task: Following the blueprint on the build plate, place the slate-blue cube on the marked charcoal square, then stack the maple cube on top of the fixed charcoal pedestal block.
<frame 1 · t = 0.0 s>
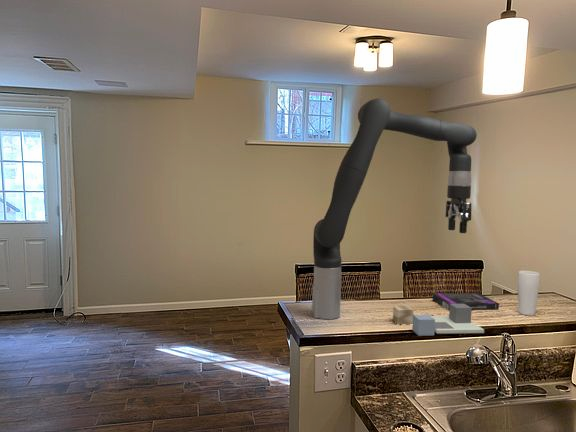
hand: (457, 231, 154), 29 cm above the counter, fingers open, 8 cm apart
drinking glass: (526, 314, 159), on the counter
build plate: (450, 325, 144), on the counter
maple block: (402, 322, 147), on the counter
slate block: (423, 332, 137), on the counter
box: (464, 306, 169), on the counter
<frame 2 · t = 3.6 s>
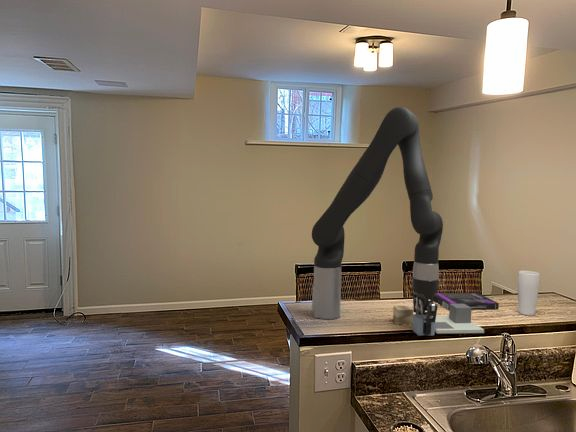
hand: (423, 331, 137), 0 cm above the counter, fingers closed on slate block, 5 cm apart
slate block: (423, 332, 137), on the counter, touching gripper
everything else where it was.
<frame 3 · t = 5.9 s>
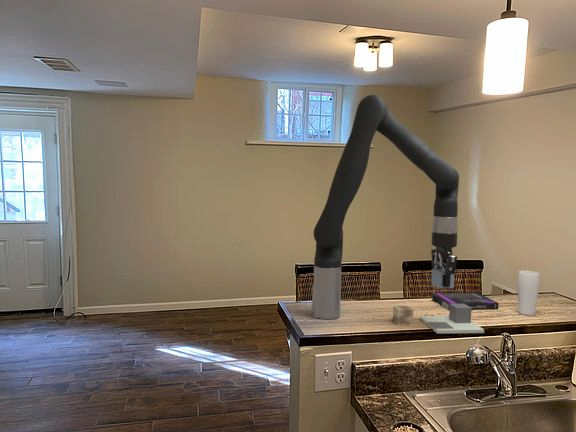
hand: (442, 284, 140), 14 cm above the counter, fingers closed on slate block, 5 cm apart
slate block: (442, 286, 140), point 14 cm above the counter, touching gripper
everything else where it was.
when the fingers open (3 cm above the counter, at t = 8.3 s): slate block stays where it is, resting on build plate.
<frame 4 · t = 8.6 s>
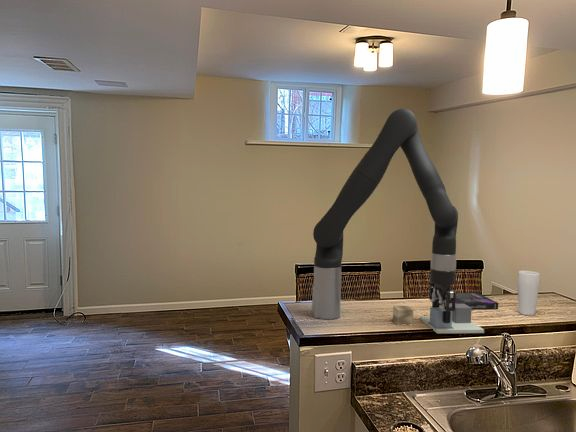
hand: (440, 318, 141), 3 cm above the counter, fingers open, 7 cm apart
slate block: (440, 325, 141), point 1 cm above the counter, touching build plate
everything else where it was.
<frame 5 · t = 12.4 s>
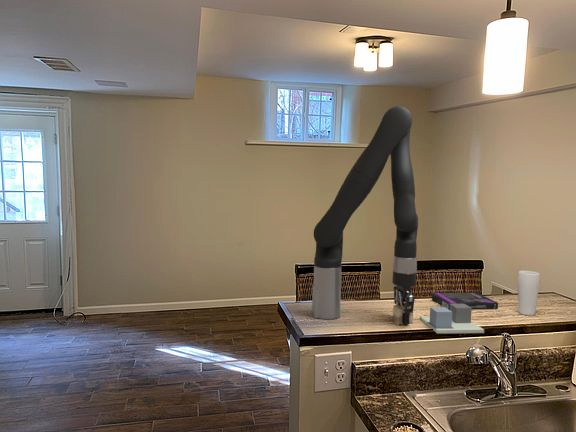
hand: (402, 321, 147), 0 cm above the counter, fingers closed on maple block, 5 cm apart
maple block: (402, 322, 147), on the counter, touching gripper
everything else where it was.
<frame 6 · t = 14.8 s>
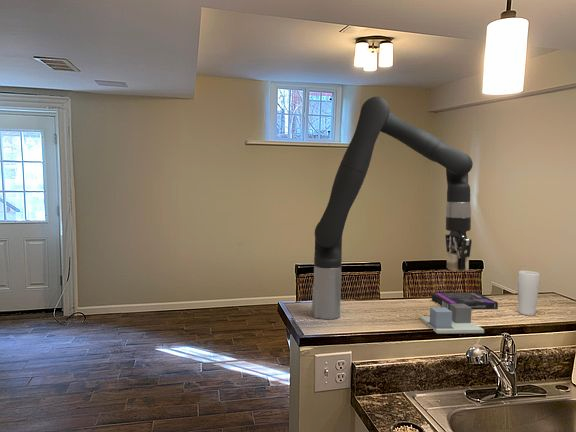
hand: (457, 267, 145), 19 cm above the counter, fingers closed on maple block, 5 cm apart
maple block: (457, 269, 145), point 18 cm above the counter, touching gripper
everything else where it was.
when the fingers open (8 cm above the counter, at t = 17.3 s): maple block drops 1 cm, resting on build plate.
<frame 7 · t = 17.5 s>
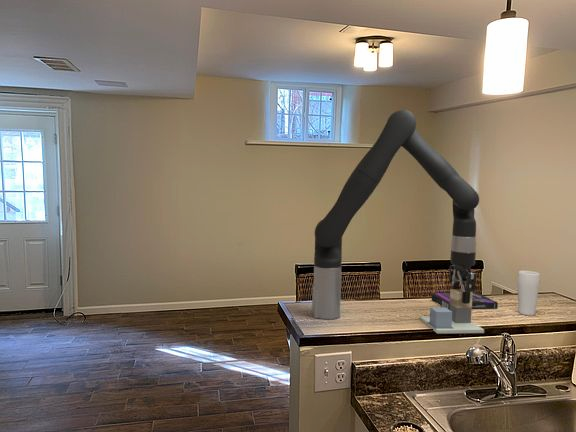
hand: (460, 300, 146), 8 cm above the counter, fingers open, 6 cm apart
maple block: (460, 305, 146), point 6 cm above the counter, touching build plate
everything else where it was.
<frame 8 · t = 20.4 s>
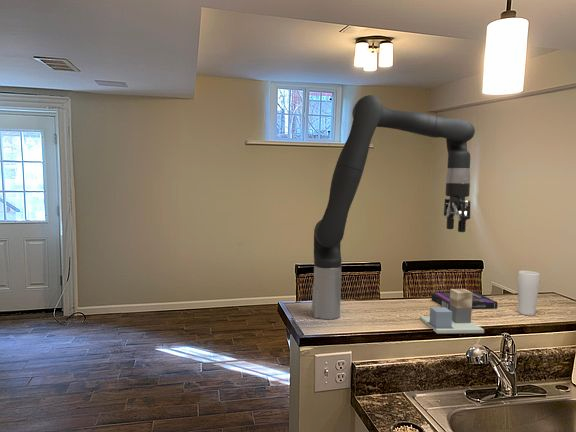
hand: (455, 230, 150), 30 cm above the counter, fingers open, 8 cm apart
at the end: maple block 0.0 cm from the target spot on the build plate, point 6.0 cm above the build plate's base; maple block tilted 0°; slate block 0.1 cm from the target spot on the build plate, point 1.1 cm above the build plate's base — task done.
